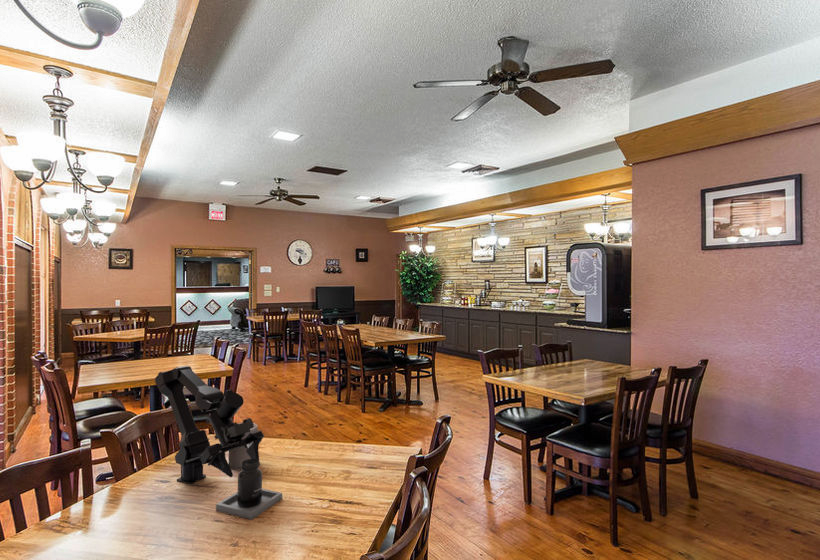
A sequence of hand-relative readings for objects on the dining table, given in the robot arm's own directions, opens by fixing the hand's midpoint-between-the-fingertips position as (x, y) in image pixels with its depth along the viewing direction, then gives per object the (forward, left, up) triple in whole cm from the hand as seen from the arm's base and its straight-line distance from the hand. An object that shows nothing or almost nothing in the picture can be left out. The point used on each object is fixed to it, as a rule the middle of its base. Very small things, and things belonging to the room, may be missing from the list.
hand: (245, 471), depth 133 cm
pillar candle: (-21, +22, -10) cm, 32 cm away
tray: (+2, 0, -9) cm, 10 cm away
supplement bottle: (+2, 0, -9) cm, 9 cm away
